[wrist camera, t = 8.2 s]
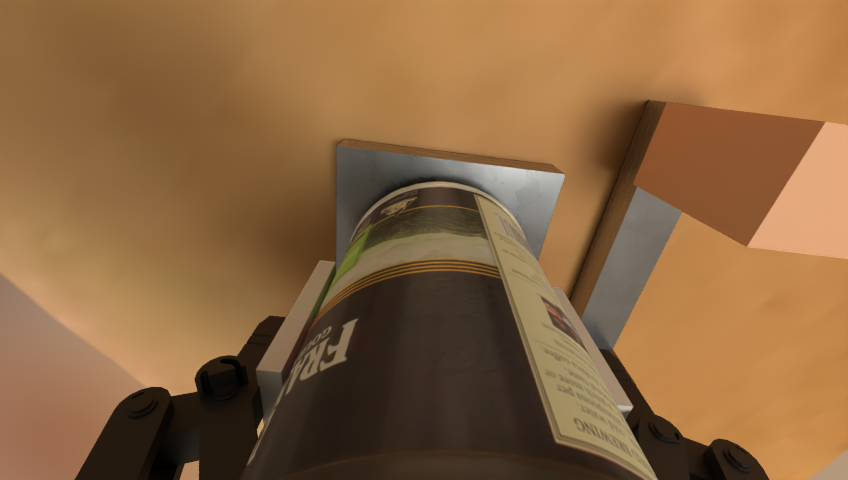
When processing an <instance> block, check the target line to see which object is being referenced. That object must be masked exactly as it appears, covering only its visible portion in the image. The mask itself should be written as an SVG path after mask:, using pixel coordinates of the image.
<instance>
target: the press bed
mask: <svg viewBox="0 0 848 480" xmlns="http://www.w3.org/2000/svg"><path fill="white" fill-rule="evenodd" d="M564 177H565V174H564V173H563V172H561V171H560V170H559V169H557V168H556V167H555V166H553V165H549V164H541V163H533V162H525V161H517V160H509V159H501V158H493V157H485V156H477V155H469V154H461V153H454V152H446V151H438V150H430V149H422V148H414V147H406V146H398V145H390V144H382V143H374V142H366V141H359V140H351V139H345V140H343V141H342V142H341V143H340V144H338V145H337V181H336V273H337V271H338V269H339V267H340V265H341V262H342V260H343V258H344V256H345V254H346V251H347V249H348V247H349V244H350V240H351V237H352V234H353V232H354V230H355V229H356V227H357V225H358V223H359V222H360V220H361V219H362V217H363V216H364V215H365V214H366V212H367V211H368V210H369V209H370V208H371V207H372V206H373V205H374V204H376V203H377V202H378V201H379V200H381V199H382V198H384V197H385V196H387V195H389V194H390V193H392V192H394V191H396V190H399V189H401V188H404V187H407V186H411V185H414V184H419V183H425V182H453V183H458V184H462V185H467V186H471V187H474V188H477V189H479V190H480V191H482V192H485V193H486V194H488V195H490V196H492V197H493V198H495V199H496V200H498V201H499V202H500V203H501V204H502V205H504V206H505V207H506V208H507V209H508V210H509V211H510V212H511V213H512V215H513V216H514V217H515V219H516V220H517V222H518V223H519V225H520V227H521V228H522V231H523V233H524V235H525V237H526V241H527V243H528V245H529V247H530V248H531V250H532V252H533V254H534V256H535V257H536V259H537V261H538V259H539V255H540V252H541V249H542V246H543V243H544V240H545V237H546V233H547V230H548V227H549V224H550V221H551V218H552V215H553V212H554V208H555V205H556V202H557V199H558V196H559V193H560V190H561V186H562V183H563V180H564Z"/></svg>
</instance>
